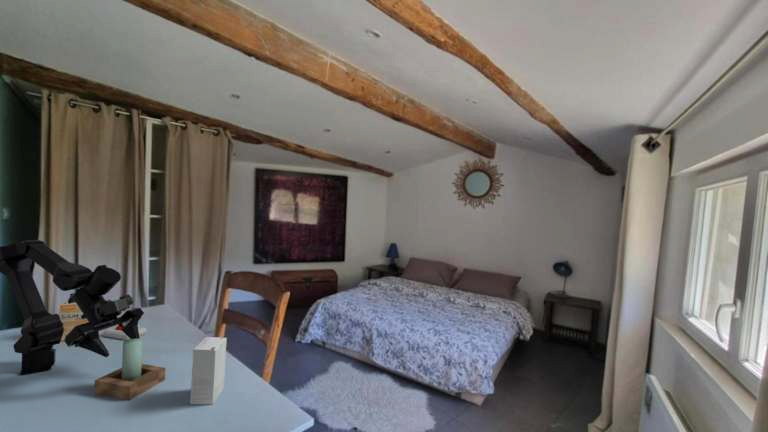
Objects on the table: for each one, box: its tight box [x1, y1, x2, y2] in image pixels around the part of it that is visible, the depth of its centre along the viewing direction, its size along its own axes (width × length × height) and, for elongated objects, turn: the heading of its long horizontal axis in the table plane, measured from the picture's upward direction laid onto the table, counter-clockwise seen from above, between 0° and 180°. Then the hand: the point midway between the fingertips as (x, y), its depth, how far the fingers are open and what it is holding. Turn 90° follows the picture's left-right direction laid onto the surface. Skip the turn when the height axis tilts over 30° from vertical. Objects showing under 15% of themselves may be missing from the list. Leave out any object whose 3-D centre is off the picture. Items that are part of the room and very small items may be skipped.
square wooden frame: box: [93, 363, 166, 401], centre depth 96 cm, size 11×11×4 cm
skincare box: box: [189, 336, 228, 405], centre depth 93 cm, size 8×6×15 cm
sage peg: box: [121, 338, 144, 381], centre depth 96 cm, size 4×4×12 cm
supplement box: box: [58, 301, 88, 342], centre depth 126 cm, size 8×5×13 cm, turn 123°
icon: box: [103, 324, 148, 341], centre depth 132 cm, size 12×4×10 cm
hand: (124, 349), depth 97 cm, fingers open, 9 cm apart
